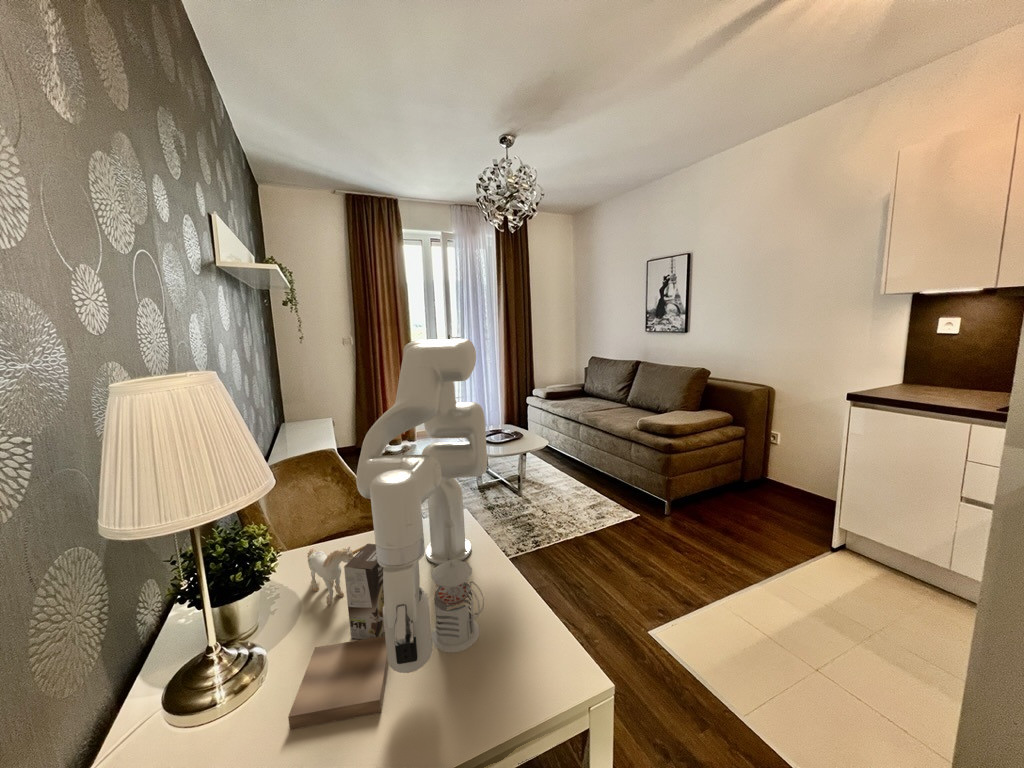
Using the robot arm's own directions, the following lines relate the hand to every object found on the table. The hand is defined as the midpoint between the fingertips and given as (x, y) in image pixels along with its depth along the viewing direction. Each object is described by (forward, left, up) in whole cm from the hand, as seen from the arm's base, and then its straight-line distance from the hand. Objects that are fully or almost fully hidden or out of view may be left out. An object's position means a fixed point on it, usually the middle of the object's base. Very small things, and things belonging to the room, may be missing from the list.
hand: (409, 640), depth 68 cm
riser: (-4, -12, -10) cm, 16 cm away
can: (0, 0, -4) cm, 4 cm away
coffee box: (-18, -9, -11) cm, 23 cm away
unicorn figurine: (-32, -19, -11) cm, 39 cm away
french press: (-12, +8, -11) cm, 18 cm away
